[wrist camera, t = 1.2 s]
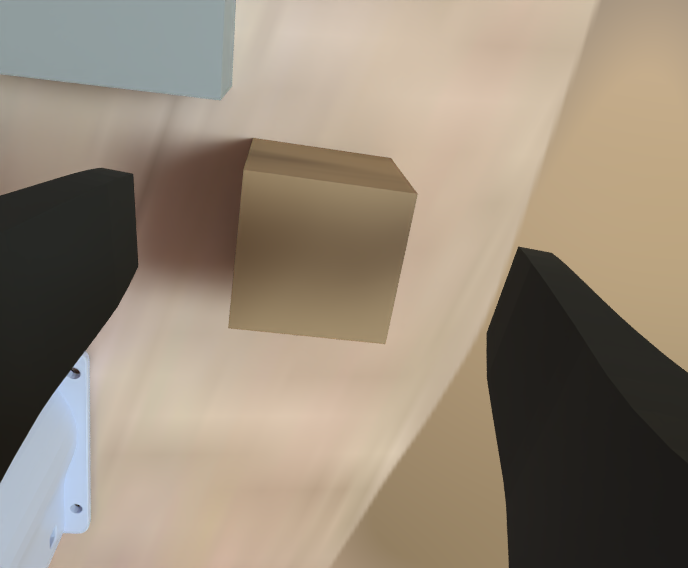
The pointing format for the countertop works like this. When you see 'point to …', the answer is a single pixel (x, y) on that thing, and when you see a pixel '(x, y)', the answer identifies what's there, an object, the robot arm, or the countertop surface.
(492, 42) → the countertop surface
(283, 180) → the walnut cube
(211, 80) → the slate block
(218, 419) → the countertop surface
